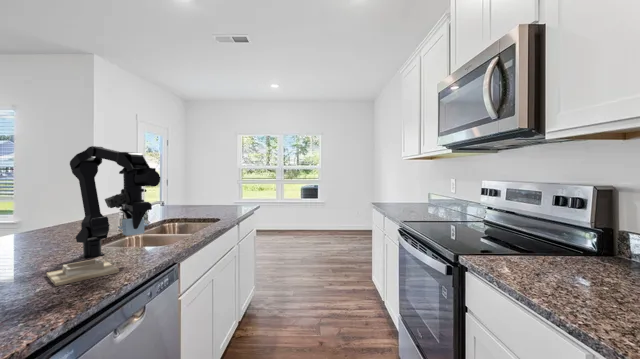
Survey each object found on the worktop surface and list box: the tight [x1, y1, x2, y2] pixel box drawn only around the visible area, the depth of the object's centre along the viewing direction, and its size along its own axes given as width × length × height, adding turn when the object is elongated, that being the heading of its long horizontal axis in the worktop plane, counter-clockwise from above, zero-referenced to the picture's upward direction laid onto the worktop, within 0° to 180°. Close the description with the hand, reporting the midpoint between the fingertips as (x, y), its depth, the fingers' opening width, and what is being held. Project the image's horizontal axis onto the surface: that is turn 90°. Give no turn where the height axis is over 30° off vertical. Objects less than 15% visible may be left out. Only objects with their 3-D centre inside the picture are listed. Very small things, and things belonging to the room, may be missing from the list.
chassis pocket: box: [46, 258, 120, 287], centre depth 98 cm, size 14×16×3 cm
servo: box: [117, 217, 149, 237], centre depth 113 cm, size 4×9×6 cm, turn 140°
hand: (133, 228), depth 113 cm, fingers closed on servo, 4 cm apart
